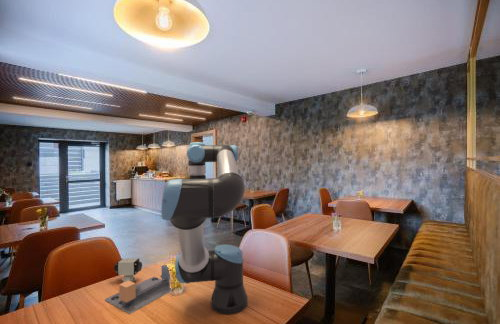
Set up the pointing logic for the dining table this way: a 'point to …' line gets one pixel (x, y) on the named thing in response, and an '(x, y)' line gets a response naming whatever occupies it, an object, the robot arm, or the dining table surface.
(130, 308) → the bolt plate
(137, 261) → the pneumatic valve
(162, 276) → the beam with fixed leg
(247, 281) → the dining table surface
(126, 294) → the tan rectangular block
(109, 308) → the dining table surface
